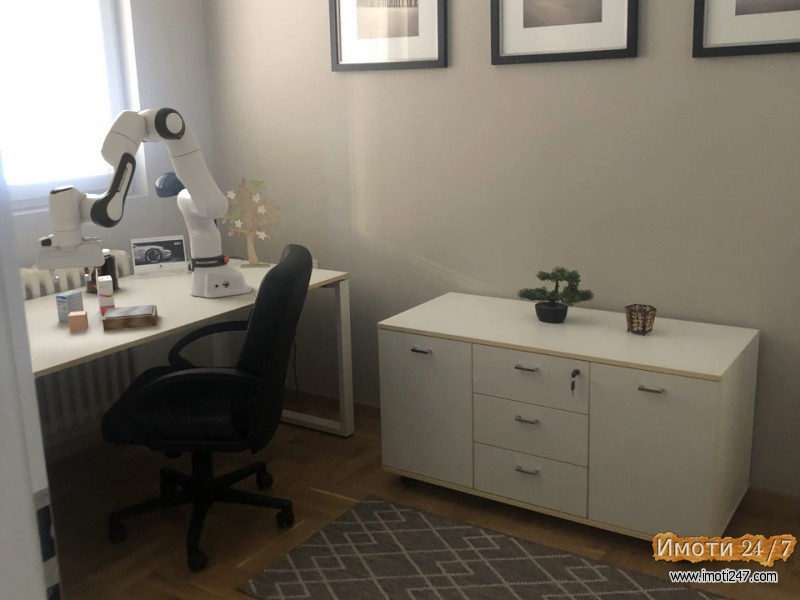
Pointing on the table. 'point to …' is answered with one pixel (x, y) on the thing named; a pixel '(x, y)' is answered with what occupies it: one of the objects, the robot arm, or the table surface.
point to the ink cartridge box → (105, 292)
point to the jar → (103, 272)
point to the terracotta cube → (78, 320)
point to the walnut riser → (130, 317)
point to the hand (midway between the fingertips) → (72, 281)
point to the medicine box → (69, 304)
